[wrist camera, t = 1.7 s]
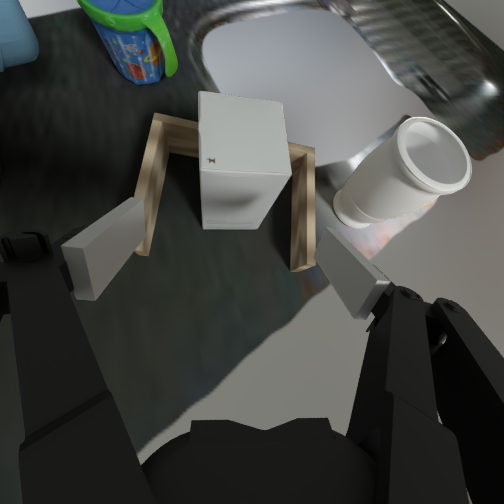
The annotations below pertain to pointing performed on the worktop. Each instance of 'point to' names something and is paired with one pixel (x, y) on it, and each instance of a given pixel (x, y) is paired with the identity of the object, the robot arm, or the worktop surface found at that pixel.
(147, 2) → the snack cup
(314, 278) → the worktop surface
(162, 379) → the worktop surface
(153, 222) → the wooden u-shaped frame
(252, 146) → the supplement box
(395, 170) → the jar
